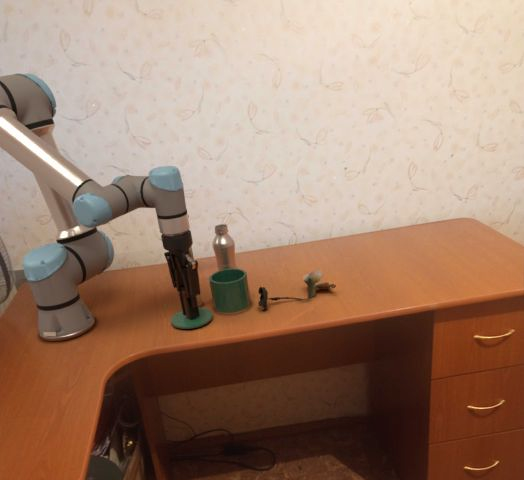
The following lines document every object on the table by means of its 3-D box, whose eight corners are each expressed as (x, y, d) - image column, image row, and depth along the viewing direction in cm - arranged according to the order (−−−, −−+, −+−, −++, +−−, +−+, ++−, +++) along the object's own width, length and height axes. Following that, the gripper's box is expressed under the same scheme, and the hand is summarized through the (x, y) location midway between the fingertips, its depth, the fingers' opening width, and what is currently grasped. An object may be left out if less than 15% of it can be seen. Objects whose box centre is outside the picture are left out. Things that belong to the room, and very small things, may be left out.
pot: (207, 309, 153) (201, 278, 148) (232, 295, 159) (228, 266, 154) (232, 318, 146) (227, 286, 141) (258, 303, 152) (254, 272, 148)
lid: (163, 323, 146) (156, 293, 141) (194, 307, 153) (189, 278, 148) (190, 334, 139) (183, 303, 134) (221, 317, 146) (216, 286, 141)
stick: (190, 306, 156) (177, 240, 146) (197, 302, 158) (185, 237, 148) (196, 308, 154) (184, 242, 144) (204, 304, 156) (192, 238, 146)
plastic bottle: (238, 294, 159) (229, 229, 149) (217, 294, 161) (206, 230, 151) (243, 285, 165) (235, 222, 155) (223, 285, 166) (212, 223, 156)
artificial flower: (255, 308, 153) (253, 273, 150) (329, 300, 158) (328, 266, 155) (262, 312, 144) (260, 275, 142) (340, 304, 149) (339, 268, 147)
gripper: (205, 233, 129) (218, 319, 141) (172, 222, 141) (188, 302, 152) (178, 242, 126) (194, 329, 137) (147, 229, 137) (165, 311, 149)
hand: (191, 315), depth 145 cm, fingers closed on lid, 3 cm apart
